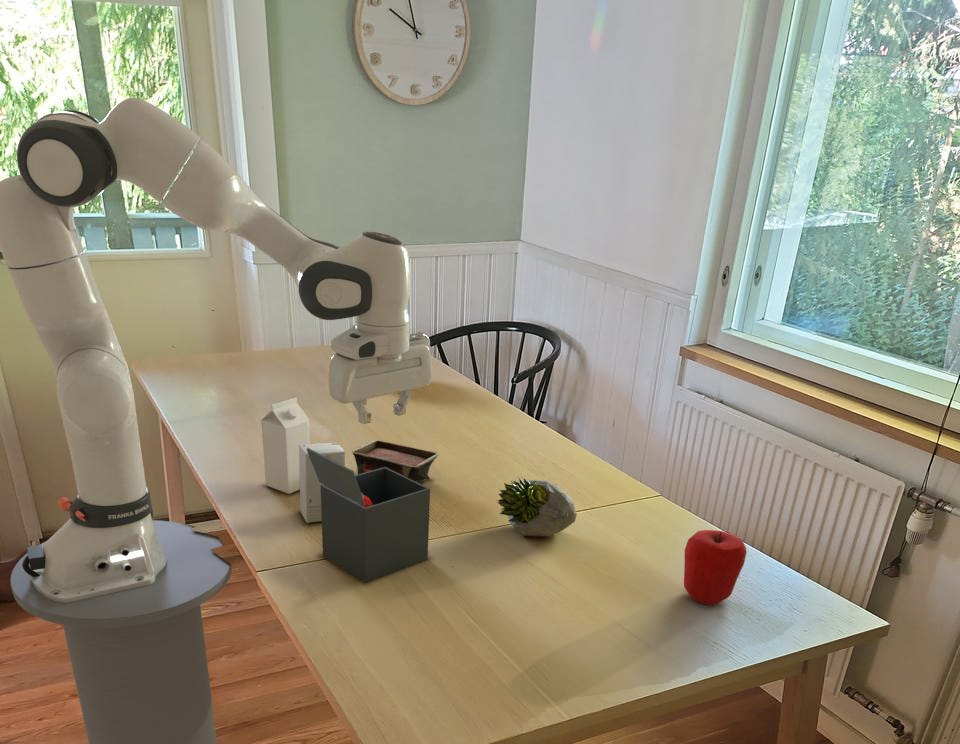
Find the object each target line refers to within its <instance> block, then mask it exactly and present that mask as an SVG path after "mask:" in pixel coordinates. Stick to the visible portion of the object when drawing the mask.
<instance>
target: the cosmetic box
mask: <svg viewBox="0 0 960 744" xmlns="http://www.w3.org/2000/svg"><path fill="white" fill-rule="evenodd" d="M307 448H310V449H312V450H314V451H315V452H317V453H319V454H321V455H323V456H325V457H327V458H329V459H331V460H333V461H335V462H337V463H339V464H341V465H343V466H345V467H346V451H345V449H343V448H342V446H341V445H340V443H338V442H326V443H325V442H324V443H322V442H317V443H310V444H305V445H299V470H300V490H299V510H300V513H301V515H302V517H303V519H304V520H305V522H306V524H311V523H318V522H322V515H321V486H320V485H323V484H322V483H320V482H319V480H318V477H317V475H316V472H315V470H314V467H313V464H312V462H311V459H310V457H309V454H308V452H307Z"/></svg>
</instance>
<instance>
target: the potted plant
mask: <svg viewBox="0 0 960 744" xmlns="http://www.w3.org/2000/svg"><path fill="white" fill-rule="evenodd" d="M517 477H518V481H519V482H518V481H515V480H510V482H511V483H510V484H507V483H506V482H504V483H503V484H504V488H505V489H499V491H500V492H501V493H498V495H499V497H500V499H498V500H497V504H499V506H501V507H502V508H500V512H499V513H498V515H502V516H507V519H508V523H510V524H511V526H512V527H513V528H514V529H515V530H516V531H517V532H518V533H519V534H520V535H521V536H523V537H552V536H553V535H556V534H558V533H560V532H562V531H564V530H566V529H567V528H569V527H570V526H571V525H572V524H574V523H575V522H576V519H577V510H576V508H575V504H574V500H573V498H572V497H571V496H570V495H569V494H568V492H566V491H565V490H564V489H563V488H562V487H560V486H559V485H556V484H554V483H552V482H550V481H548V480H527V479H526V478H525V477H523V476H522V478H520V476H517ZM522 479H523V480H522Z"/></svg>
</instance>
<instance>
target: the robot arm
mask: <svg viewBox="0 0 960 744" xmlns="http://www.w3.org/2000/svg"><path fill="white" fill-rule="evenodd" d="M16 149H17V150H16V162H17V167H18V170H19V173H20V174H18V175H12V176H9V177H6V178H4V179H2V180H0V252H1V255H2V257H3V260H4V263H5V265H6V268H7V271H8V272H9V274H10V277H11V280H12V282H13V284H14V287H15V289H16V292H17V294H18V296H19V299H20V301H21V304H22V306H23V308H24V311H25V313H26V316H27V318H28V320H29V322H30V324H31V325H32V327H33V329H34V330H35V332H36V334H37V337H38V338H39V340H40V342H41V344H42V346H43V348H44V350H45V352H46V354H47V357H48V359H49V361H50V363H51V365H52V367H53V371H54V374H55V379H56V396H57V403H58V406H59V412H60V415H61V420H62V424H63V429H64V433H65V438H66V441H67V445H68V449H69V454H70V459H71V463H72V470H73V475H74V480H75V485H76V490H77V494H76V497H75V498H74V500H70V499H69V498H68V497H66V496H61V497H60V498H59V499H58V500H57V505H58V507H59V508H60V509H61V510H63V511H64V512H69V517H70V518H69V519H68V520H67V521H66V522H65V523H64V524H63V525H62V526H61V527H60V528H59V529H58V530H56V532H55V533H53V535H52V536H51V537H49V539H47V540H46V541H44V542H45V544H44V546H43V545H40V544H39V545H40V546H39V545H34V546H27V547H26V553H28V556H26V557H25V559H24V561H23V563H22V566H23V569H24V571H25V572H26V573H28V574H29V575H31V582H32V584H33V586H34V587H35V588H36V589H37V591H38V592H40V593H41V594H42V595H43V596H45V597H47V598H48V599H51V600H53V601H57V602H61V603H69V602H74V601H79V600H83V599H88V598H92V597H97V596H101V595H106V594H111V593H115V592H120V591H124V590H129V589H133V588H138V587H142V586H147V585H151V584H152V583H154V581H155V578H156V575H157V574H158V573H159V572H160V571H161V570H162V569H163V568H164V567H165V565H166V563H167V559H166V556H165V555H164V553H163V551H162V548H161V546H160V544H159V541H158V538H157V535H156V532H155V528H154V525H153V518H154V510H153V508H154V507H153V501H152V497H151V493H150V492H151V491H150V489H149V488H148V486H147V481H146V474H145V467H144V462H143V461H144V460H143V455H142V447H141V440H140V432H139V423H138V418H137V417H138V415H137V409H136V400H135V394H134V389H133V384H132V380H131V379H132V378H131V376H130V370H129V367H128V364H127V361H126V358H125V356H124V355H125V354H124V353H123V350H122V348H121V345H120V342H119V339H118V337H117V334H116V332H115V330H114V327H113V324H112V322H111V319H110V317H109V314H108V312H107V308H106V307H105V304H104V301H103V299H102V296H101V293H100V290H99V288H98V285H97V282H96V279H95V276H94V273H93V271H92V269H91V265H90V263H89V260H88V258H87V257H88V256H87V255H86V251H85V250H84V246H83V244H82V241H81V239H80V236H79V234H78V233H79V232H78V230H77V227H76V223H75V218H74V217H75V216H74V213H75V208H76V207H77V208H78V207H80V206H84V205H86V204H88V203H90V202H92V201H93V200H94V199H96V198H97V197H98V196H99V195H101V194H102V193H103V192H104V191H105V190H106V189H108V188H109V187H110V186H111V185H113V184H115V182H116V181H123V182H128V183H130V184H132V185H134V186H135V187H137V188H139V189H140V190H142V191H143V192H145V193H146V194H147V195H149V196H150V197H151V198H153V199H154V200H155V201H157V202H158V203H159V204H161V206H163V207H164V208H166V209H167V210H168V211H170V212H171V213H172V214H174V215H175V216H178V217H179V218H180V219H182V220H184V221H186V222H188V223H190V224H191V225H194V226H195V227H197V228H199V229H201V230H204V231H211V232H224V233H229V234H232V235H235V236H237V237H240V238H242V239H243V240H245V241H247V242H249V243H250V244H251V245H253V246H254V247H256V248H257V249H258V250H260V252H262V253H264V254H265V255H266V256H267V257H269V258H270V259H272V260H273V261H274V262H275V263H277V264H278V265H280V266H281V267H282V268H283V269H285V270H286V271H287V272H288V273H289V274H290V276H291V277H292V279H293V281H294V283H295V284H296V286H297V290H298V296H299V299H300V302H301V304H302V305H303V307H304V308H305V309H306V310H307V312H309V313H310V314H311V315H312V316H313V317H315V318H318V319H320V320H323V321H324V320H325V321H337V320H343V319H349V318H354V317H355V324H354V325H352V326H351V327H350V328H348V329H347V330H345V331H344V332H342V333H340V334H338V335H336V336H334V337H333V338H332V339H331V340H330V350H331V351H332V352H334V354H333V355H332V356H331V358H330V361H329V366H328V393H329V395H330V397H331V398H332V399H333V400H334V401H336V402H338V403H341V404H343V405H345V404H351V403H352V405H353V406H354V408H355V410H356V411H357V413H358V415H357V416H358V417H357V418H358V422H359V423H360V424H362V425H366V424H371V423H372V413H371V412H369V411H367V409H366V407H365V406H366V405H367V400H369V399H374V398H377V397H378V398H379V397H383V396H388V395H393V394H396V393H397V394H399V396H398V398H397V402H396V403H393V406H392V407H393V411H392V412H393V414H394V415H395V416H397V417H400V416H405V415H406V413H407V405H408V403H409V402H410V399H411V397H412V393H413V390H415V389H420V388H424V387H429V385H430V384H431V383H432V380H433V363H432V353H431V340H430V338H429V336H428V335H427V334H425V333H424V332H422V331H419V332H416V333H410V331H411V330H410V329H411V328H410V326H411V325H410V324H411V323H410V322H411V317H410V314H409V307H408V306H409V300H410V297H411V263H410V256H409V250H408V248H407V247H406V246H405V244H404V243H403V242H402V241H401V240H399V239H398V238H396V237H394V236H391V235H389V234H385V233H381V232H376V231H364V232H361V233H360V234H359V235H358V236H357V237H356V238H354V239H352V240H351V241H350V242H348V243H346V244H344V245H343V246H338V245H335V244H333V243H330V242H326V241H323V240H318V239H315V238H312V237H310V236H308V235H306V234H305V233H304V232H302V231H301V230H300V229H298V228H297V227H296V226H294V225H293V224H291V223H290V222H289V221H287V219H285V218H284V217H283V216H281V215H280V214H279V213H277V212H276V211H275V210H273V209H272V208H271V207H270V206H269V205H267V204H266V203H265V202H264V201H262V199H261V198H259V196H258V195H257V194H256V193H255V192H254V191H253V190H252V188H251V187H250V186H249V185H248V183H247V182H246V181H245V179H244V178H242V176H241V175H240V174H239V173H238V172H237V170H236V169H235V168H234V167H233V166H232V165H231V163H229V161H228V160H227V159H225V158H224V157H223V155H222V154H220V153H219V152H218V151H217V150H216V149H215V148H214V147H213V146H212V145H211V144H209V143H208V142H207V141H206V140H205V139H203V138H201V136H200V135H199V134H197V132H195V131H193V130H192V129H191V128H189V127H188V126H186V125H185V124H184V123H182V122H181V121H180V120H178V119H177V118H175V117H173V116H172V115H170V113H167V112H166V111H164V110H162V109H161V108H159V107H158V106H155V104H153V103H150V102H149V101H146V100H145V99H143V98H139V97H128V98H125V99H123V100H121V101H120V102H117V104H115V105H114V106H113V107H112V108H111V110H110V111H109V112H108V114H107V115H106V117H104V119H103V120H101V122H100V121H99V120H98V119H96V118H95V117H93V116H91V115H89V114H87V113H85V112H82V111H79V110H75V109H74V110H71V109H67V110H60V111H55V112H51V113H48V114H45V115H43V116H42V117H40V118H38V120H36V122H35V123H33V124H31V125H30V126H29V127H28V128H27V129H25V131H24V132H23V133H22V135H21V136H20V138H19V141H18V144H17V147H16ZM29 564H30V567H29Z"/></svg>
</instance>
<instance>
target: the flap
mask: <svg viewBox="0 0 960 744" xmlns="http://www.w3.org/2000/svg"><path fill="white" fill-rule="evenodd" d="M307 452H308V454H309V457H310V459H311V462H312V464H313V467H314V470H315V472H316V475H317V477H318V480H319V482H320V483H322V484H324V485H326V486H327V487H329V488H331V489H333V490H335V491H337V492H339V493H340V494H342V495H344V496H346V497H348V498H350V499H351V500H353V501H355V502H357V503H359V504H361V505H362V506H365V503H364V500H363V497H362V494H361V491H360V489H359V486H358V483H357V480H356V477H355V475H356V474H355V473H354V470H353V469H351V468H350V467H349V468H348V467H347V466H346V465H345V466H343V465H341V464H339V463H337V462H335V461H333V460H331V459H329V458H327V457H325V456H323V455H321V454H319V453H317V452H315V451H314V450H312V449H310V448H307Z"/></svg>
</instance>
